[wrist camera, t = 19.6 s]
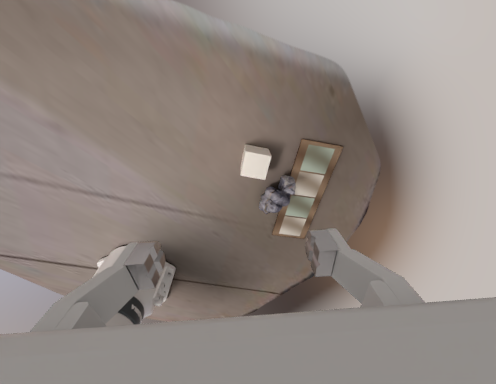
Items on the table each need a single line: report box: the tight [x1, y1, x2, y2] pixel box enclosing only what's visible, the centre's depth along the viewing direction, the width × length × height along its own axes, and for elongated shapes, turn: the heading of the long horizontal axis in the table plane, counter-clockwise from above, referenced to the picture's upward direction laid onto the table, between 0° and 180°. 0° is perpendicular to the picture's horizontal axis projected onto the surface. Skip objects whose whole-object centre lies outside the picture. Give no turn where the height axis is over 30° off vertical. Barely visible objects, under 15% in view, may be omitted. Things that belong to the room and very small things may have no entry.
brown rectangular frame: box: [272, 139, 343, 239], centre depth 41 cm, size 23×8×1 cm, turn 170°
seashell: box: [259, 175, 296, 214], centre depth 39 cm, size 5×5×10 cm
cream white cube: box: [241, 144, 272, 180], centre depth 35 cm, size 4×4×4 cm
